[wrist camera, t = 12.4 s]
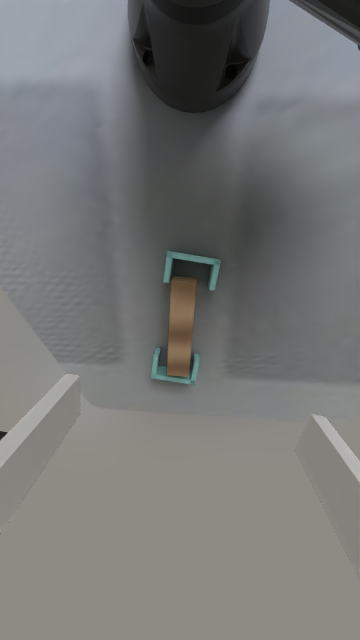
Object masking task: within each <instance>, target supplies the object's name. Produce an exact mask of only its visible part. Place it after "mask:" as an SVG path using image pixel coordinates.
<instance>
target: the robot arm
mask: <svg viewBox="0 0 360 640" xmlns="http://www.w3.org/2000/svg"><path fill="white" fill-rule="evenodd" d="M290 1H291V2H293V3H294V4H296V5H297V6H299V7H300V8H302V9H303V10H305V11H307V12H308V13H310V14H311V15H313V16H314V17H316V18H317V19H319V20H320V21H322V22H324V23H325V24H327V25H328V26H330V27H331V28H333V29H334V30H336V31H337V32H339V33H341V34H342V35H344V36H345V37H347V38H348V39H350V40H351V41H353V42H354V43H356V44H357V45H358V48H359V50H360V0H290ZM269 3H270V0H128V20H129V28H130V34H131V39H132V43H133V47H134V51H135V54H136V58H137V61H138V64H139V67H140V70H141V72H142V74H143V76H144V78H145V80H146V82H147V83H148V85H149V86H150V88H151V89H152V90H153V92H154V93H155V94H156V95H157V96H158V97H159V98H160V99H161V100H162V101H164V102H165V103H167V104H168V105H170V106H172V107H173V108H176V109H178V110H182V111H186V112H202V111H207V110H210V109H213V108H215V107H217V106H219V105H221V104H222V103H224V102H226V101H227V100H228V99H229V98H231V97H232V96H233V95H234V94H235V93H236V92H237V91H238V89H239V88H240V87H241V86H242V84H243V83H244V82H245V80H246V78H247V77H248V75H249V73H250V71H251V69H252V67H253V65H254V63H255V60H256V57H257V55H258V52H259V49H260V46H261V43H262V40H263V37H264V33H265V29H266V24H267V19H268V13H269ZM79 415H80V376H79V375H73V374H67V373H66V374H65V375H64V376H63V377H62V378H61V379H60V380H59V381H58V382H57V383H56V384H55V385H54V387H52V388H51V390H50V391H49V392H48V393H47V394H46V395H45V396H44V397H43V398H42V399H41V400H40V401H39V402H38V403H37V404H36V405H35V406H34V407H33V408H32V409H31V410H30V411H29V412H28V413H27V414H26V415H25V416H24V417H23V418H22V419H21V420H20V421H19V422H18V423H17V424H16V425H15V426H14V427H13V428H12V429H11V430H10V431H9V432H2V431H0V534H1V532H2V531H3V529H4V528H5V526H6V525H7V523H8V522H9V520H10V518H11V517H12V515H13V514H14V513H15V511H16V509H17V508H18V506H19V505H20V504H21V502H22V501H23V499H24V498H25V496H26V495H27V493H28V491H29V490H30V489H31V487H32V486H33V484H34V483H35V481H36V479H37V478H38V477H39V475H40V474H41V472H42V471H43V469H44V468H45V466H46V464H47V463H48V461H49V460H50V458H51V457H52V455H53V454H54V452H55V451H56V449H57V448H58V446H59V445H60V443H61V442H62V440H63V439H64V437H65V436H66V434H67V433H68V431H69V430H70V428H71V427H72V425H73V424H74V422H75V421H76V419H77V418H78V416H79ZM295 452H296V454H297V455H298V458H299V460H300V462H301V464H302V466H303V468H304V470H305V472H306V473H307V475H308V478H309V480H310V482H311V484H312V486H313V487H314V490H315V491H316V494H317V495H318V497H319V499H320V501H321V503H322V505H323V507H324V509H325V511H326V513H327V515H328V517H329V519H330V521H331V523H332V525H333V527H334V529H335V531H336V533H337V535H338V537H339V539H340V541H341V543H342V545H343V547H344V549H345V551H346V553H347V555H348V557H349V559H350V561H351V563H352V565H353V567H354V569H355V571H356V573H357V575H358V577H359V579H360V461H359V460H358V459H357V457H356V456H355V455H354V454H353V452H352V451H351V450H350V448H349V447H348V446H347V445H346V443H345V442H344V441H343V439H342V438H341V437H340V436H339V434H338V433H337V432H336V430H335V429H334V428H333V427H332V425H331V424H330V423H329V421H328V420H327V419H326V418H325V417H324V416H318V415H312V414H311V416H310V418H309V420H308V422H307V425H306V427H305V429H304V431H303V433H302V435H301V437H300V439H299V442H298V444H297V446H296V448H295Z"/></svg>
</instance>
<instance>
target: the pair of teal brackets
mask: <svg viewBox="0 0 360 640" xmlns="http://www.w3.org/2000/svg"><path fill="white" fill-rule="evenodd" d="M174 258H176V259H182V260H188V261H194V262H200V263H206V264H212V267H211V272H210V277H209V282H208V289H209V290H212V291H215V287H216V282H217V277H218V272H219V268H220V263H221V260H220V259H214V258H208V257H202V256H196V255H190V254H184V253H178V252H172V251H167V257H166V265H165V273H164V280H163V282H164V283H169V282H170V280H171V273H172V266H173V259H174ZM160 351H161V348H158V347H156V350H155V353H154V357H153V365H152V372H151V378H154V379H160V380H166V381H172V382H179V383H185V384H191V385H195V382H196V377H197V372H198V367H199V363H200V362H199V354H195V353H194V357H193V363H192V368H191V371H189V377H184V376H172V375H167V367H164V366H158V365H159V358H160Z"/></svg>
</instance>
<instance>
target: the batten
mask: <svg viewBox="0 0 360 640" xmlns="http://www.w3.org/2000/svg"><path fill="white" fill-rule="evenodd" d="M196 286H197V281H196V278H193V277H179V276H174V277H173V278H172V280H171V297H170V317H169V338H168V359H167V375H172V376H184V377H189V367H190V356H191V344H192V332H193V321H194V309H195V297H196Z"/></svg>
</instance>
